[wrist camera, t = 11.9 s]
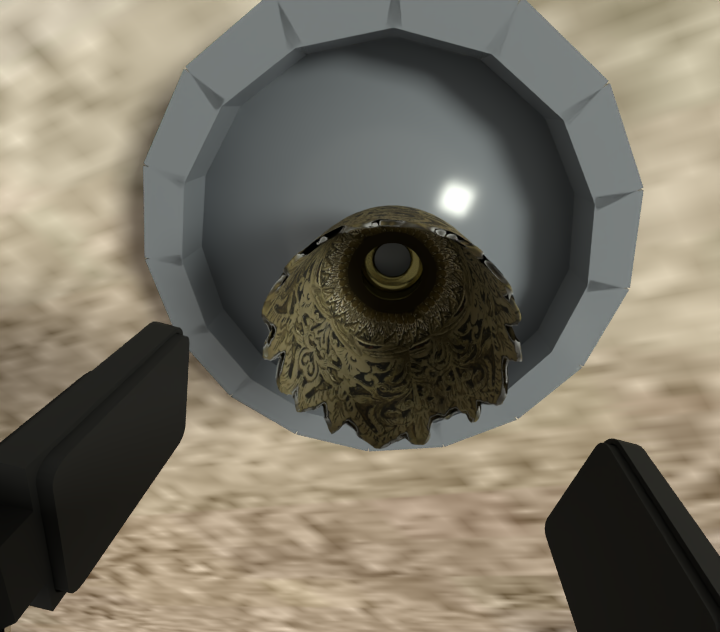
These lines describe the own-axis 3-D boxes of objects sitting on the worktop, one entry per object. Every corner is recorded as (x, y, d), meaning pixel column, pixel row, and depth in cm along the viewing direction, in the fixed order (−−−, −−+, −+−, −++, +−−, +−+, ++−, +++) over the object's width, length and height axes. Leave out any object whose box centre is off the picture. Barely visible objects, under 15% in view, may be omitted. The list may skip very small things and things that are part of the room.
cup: (360, 352, 21) (341, 477, 14) (280, 227, 18) (206, 304, 11) (501, 290, 19) (562, 401, 12) (432, 139, 16) (459, 166, 9)
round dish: (503, 451, 24) (514, 488, 22) (168, 372, 24) (143, 401, 21) (716, 64, 15) (775, 57, 13) (174, -86, 14) (131, -122, 12)
